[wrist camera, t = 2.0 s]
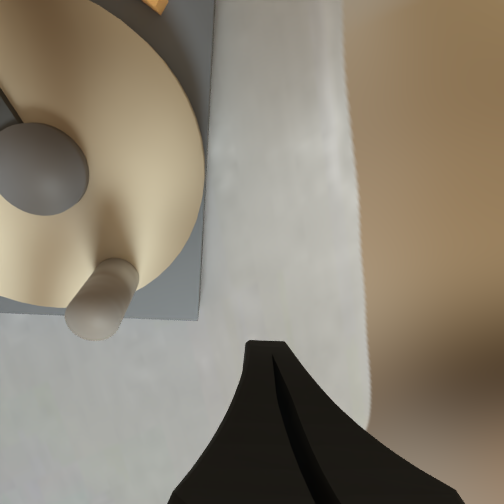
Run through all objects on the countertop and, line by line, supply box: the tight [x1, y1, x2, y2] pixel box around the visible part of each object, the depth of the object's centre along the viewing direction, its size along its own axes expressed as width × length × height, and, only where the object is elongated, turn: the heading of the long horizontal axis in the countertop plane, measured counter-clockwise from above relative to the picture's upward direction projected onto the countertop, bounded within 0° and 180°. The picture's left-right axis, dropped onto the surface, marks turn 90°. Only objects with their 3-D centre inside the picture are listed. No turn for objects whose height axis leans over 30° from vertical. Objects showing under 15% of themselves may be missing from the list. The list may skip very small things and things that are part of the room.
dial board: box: [0, 0, 215, 321], centre depth 17 cm, size 14×16×3 cm
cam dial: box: [0, 0, 205, 341], centre depth 14 cm, size 13×13×5 cm
